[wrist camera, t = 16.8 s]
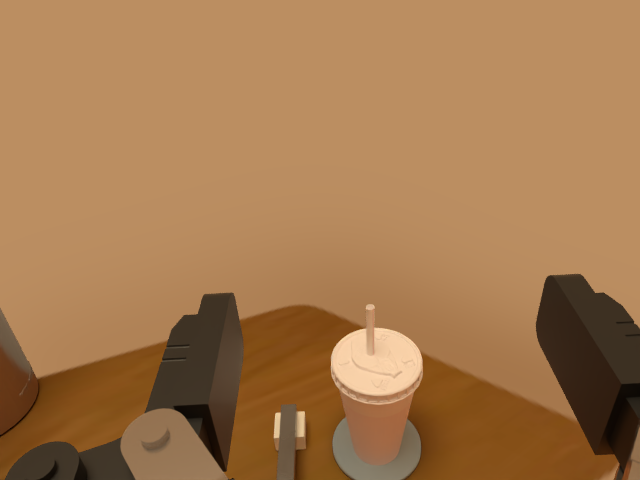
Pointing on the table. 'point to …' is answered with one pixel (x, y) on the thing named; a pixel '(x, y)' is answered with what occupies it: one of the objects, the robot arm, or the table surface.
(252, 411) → the table surface
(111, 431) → the table surface
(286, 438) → the steel bar
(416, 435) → the pad
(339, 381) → the smoothie
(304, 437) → the hurdle stand
